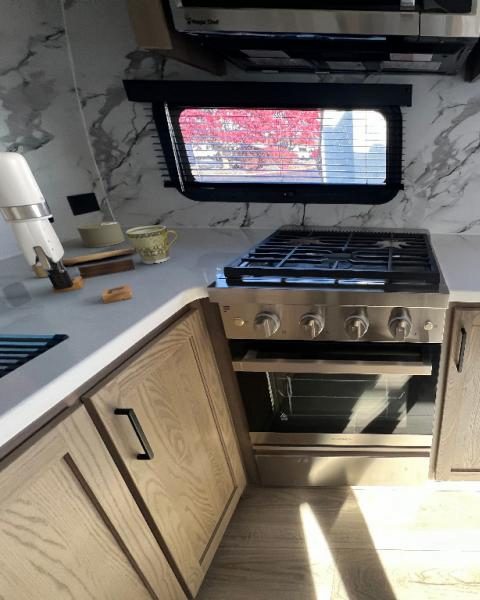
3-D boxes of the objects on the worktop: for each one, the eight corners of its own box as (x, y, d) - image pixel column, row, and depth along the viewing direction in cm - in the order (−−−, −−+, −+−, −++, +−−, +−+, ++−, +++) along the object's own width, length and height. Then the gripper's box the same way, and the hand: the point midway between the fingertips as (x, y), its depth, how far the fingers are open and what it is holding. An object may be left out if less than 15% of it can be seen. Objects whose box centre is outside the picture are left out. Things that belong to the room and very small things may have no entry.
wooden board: (138, 247, 116) (137, 245, 115) (140, 254, 108) (139, 251, 108) (41, 264, 102) (39, 261, 102) (35, 272, 95) (34, 269, 95)
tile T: (54, 293, 82) (51, 286, 81) (58, 286, 86) (55, 280, 85) (81, 288, 85) (78, 281, 84) (84, 282, 88) (80, 275, 87)
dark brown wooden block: (81, 278, 90) (76, 269, 89) (82, 275, 93) (78, 266, 92) (134, 269, 97) (131, 260, 96) (135, 266, 99) (131, 258, 98)
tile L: (105, 303, 76) (101, 296, 75) (106, 296, 80) (103, 289, 79) (131, 298, 79) (128, 290, 78) (132, 291, 83) (129, 284, 82)
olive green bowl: (84, 243, 123) (75, 224, 120) (124, 237, 130) (117, 219, 127) (85, 250, 115) (76, 230, 112) (127, 243, 122) (120, 224, 119)
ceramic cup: (130, 267, 98) (117, 234, 94) (148, 256, 107) (137, 226, 103) (177, 264, 100) (167, 231, 96) (191, 254, 109) (181, 224, 105)
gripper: (12, 209, 77) (50, 281, 85) (-10, 220, 66) (36, 302, 74) (55, 205, 81) (88, 275, 89) (41, 215, 70) (80, 293, 78)
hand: (64, 287), depth 82 cm, fingers closed
